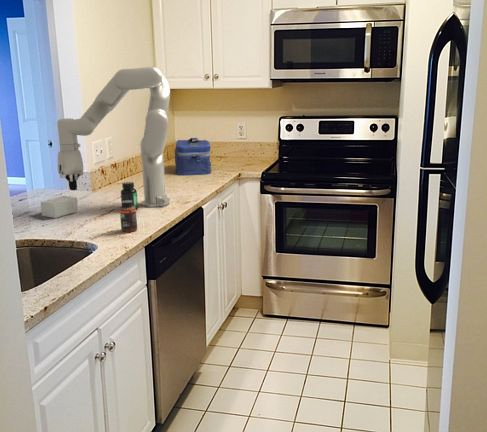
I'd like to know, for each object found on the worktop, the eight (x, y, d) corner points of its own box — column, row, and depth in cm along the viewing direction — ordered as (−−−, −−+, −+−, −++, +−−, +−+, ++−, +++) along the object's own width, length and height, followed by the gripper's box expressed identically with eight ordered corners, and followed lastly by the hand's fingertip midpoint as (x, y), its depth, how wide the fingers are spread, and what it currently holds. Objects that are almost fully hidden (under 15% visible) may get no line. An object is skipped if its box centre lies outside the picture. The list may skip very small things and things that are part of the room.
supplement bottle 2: (138, 228, 214) (136, 199, 211) (136, 232, 208) (133, 202, 205) (122, 228, 214) (120, 199, 211) (120, 232, 208) (117, 203, 205)
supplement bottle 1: (140, 210, 242) (138, 183, 239) (124, 212, 239) (122, 185, 236) (135, 207, 248) (133, 180, 245) (120, 209, 244) (117, 182, 241)
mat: (73, 213, 239) (73, 213, 239) (43, 220, 229) (43, 219, 229) (59, 209, 247) (59, 209, 247) (29, 216, 237) (29, 215, 237)
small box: (65, 209, 246) (41, 216, 235) (63, 195, 244) (39, 201, 233) (78, 211, 242) (55, 218, 231) (77, 197, 240) (53, 203, 229)
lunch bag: (213, 175, 322) (212, 139, 317) (177, 177, 319) (175, 141, 314) (208, 167, 352) (207, 134, 347) (174, 168, 348) (172, 135, 343)
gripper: (79, 145, 247) (83, 186, 251) (48, 149, 236) (53, 191, 241) (89, 146, 242) (93, 188, 247) (57, 150, 231) (62, 193, 236)
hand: (73, 189), depth 244 cm, fingers closed
